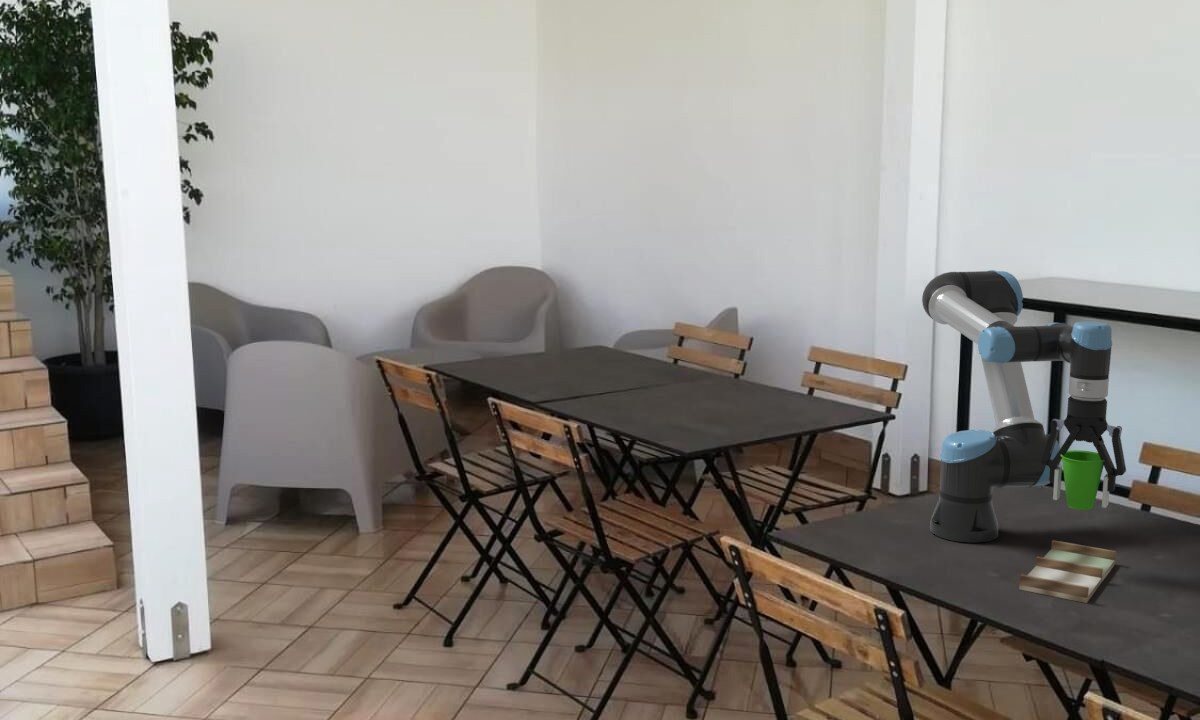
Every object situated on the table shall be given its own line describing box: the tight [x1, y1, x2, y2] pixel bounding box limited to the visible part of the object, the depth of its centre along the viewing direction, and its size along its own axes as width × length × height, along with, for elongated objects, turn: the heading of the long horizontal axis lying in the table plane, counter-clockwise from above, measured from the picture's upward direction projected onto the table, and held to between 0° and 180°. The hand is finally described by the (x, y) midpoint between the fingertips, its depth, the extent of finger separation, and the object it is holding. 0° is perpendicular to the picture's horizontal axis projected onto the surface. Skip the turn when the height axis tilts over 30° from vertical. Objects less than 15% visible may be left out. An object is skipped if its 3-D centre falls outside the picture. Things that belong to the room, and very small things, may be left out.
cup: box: [1060, 449, 1104, 511], centre depth 252 cm, size 9×9×11 cm
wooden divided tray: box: [1018, 539, 1117, 604], centre depth 250 cm, size 13×26×3 cm, turn 146°
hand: (1080, 501), depth 253 cm, fingers closed on cup, 9 cm apart
